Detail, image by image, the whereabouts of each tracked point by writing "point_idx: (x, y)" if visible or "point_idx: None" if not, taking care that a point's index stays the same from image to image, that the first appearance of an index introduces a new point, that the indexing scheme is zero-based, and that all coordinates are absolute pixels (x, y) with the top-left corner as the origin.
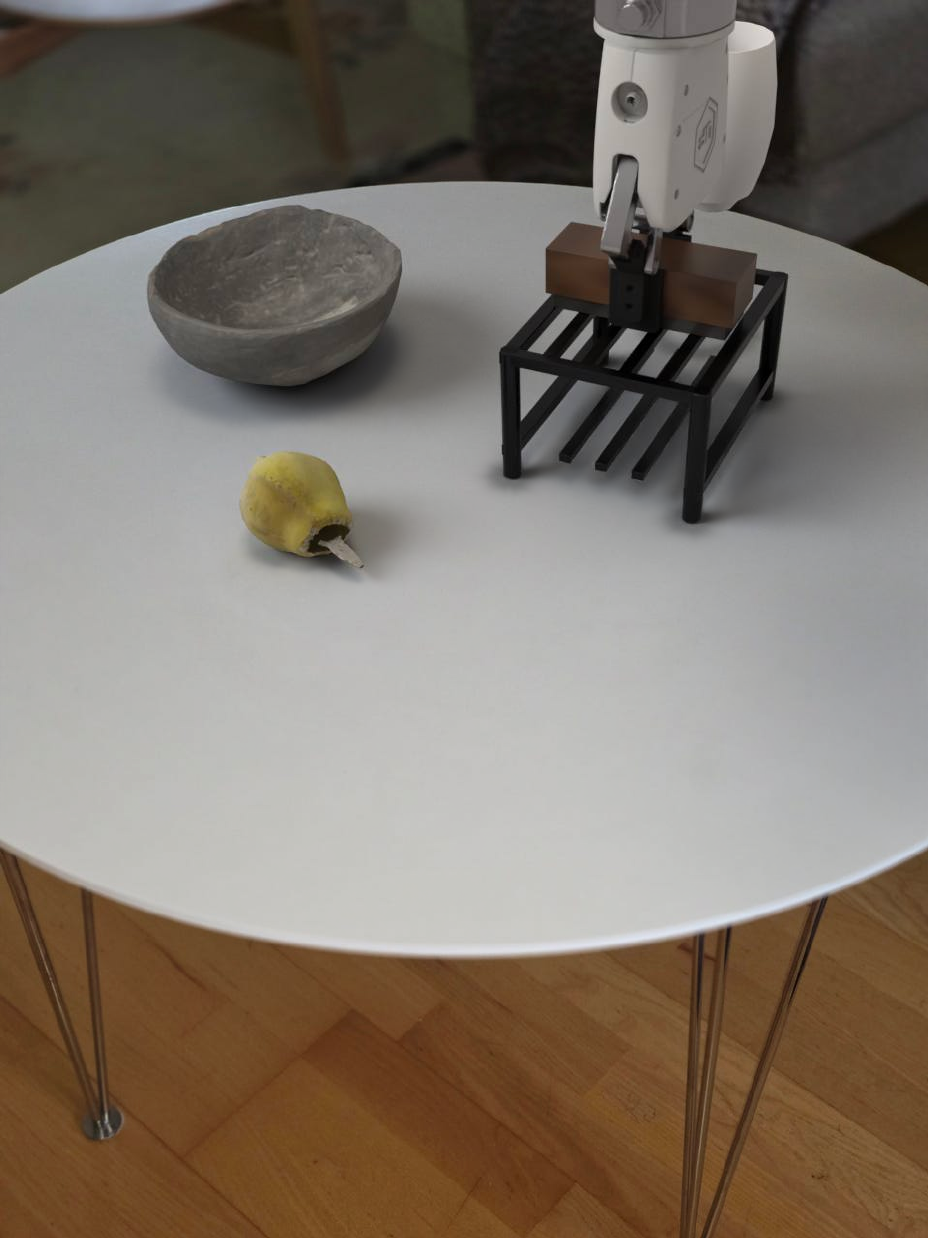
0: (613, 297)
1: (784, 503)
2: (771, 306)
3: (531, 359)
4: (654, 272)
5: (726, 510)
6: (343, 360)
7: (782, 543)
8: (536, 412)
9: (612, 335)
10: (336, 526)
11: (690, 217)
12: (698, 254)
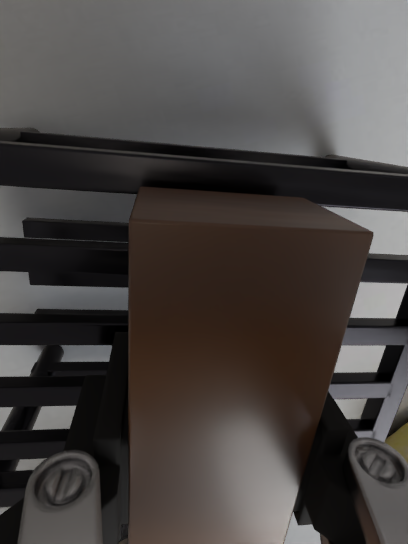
0: None
1: (277, 55)
2: (44, 144)
3: None
4: (361, 444)
5: (306, 129)
6: None
7: (360, 40)
8: None
9: None
10: (396, 431)
11: (53, 497)
12: (203, 386)
